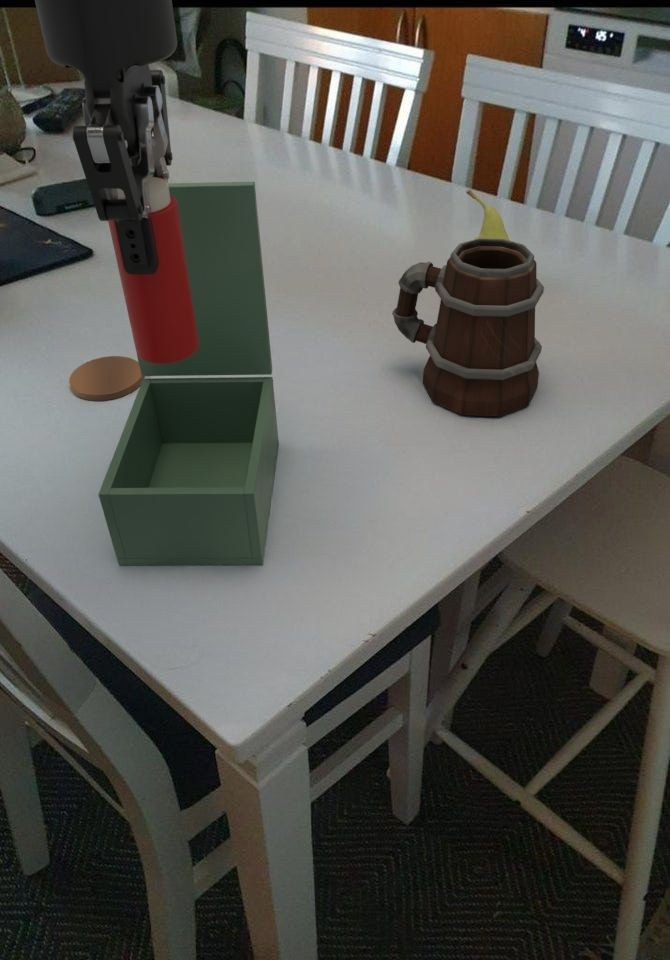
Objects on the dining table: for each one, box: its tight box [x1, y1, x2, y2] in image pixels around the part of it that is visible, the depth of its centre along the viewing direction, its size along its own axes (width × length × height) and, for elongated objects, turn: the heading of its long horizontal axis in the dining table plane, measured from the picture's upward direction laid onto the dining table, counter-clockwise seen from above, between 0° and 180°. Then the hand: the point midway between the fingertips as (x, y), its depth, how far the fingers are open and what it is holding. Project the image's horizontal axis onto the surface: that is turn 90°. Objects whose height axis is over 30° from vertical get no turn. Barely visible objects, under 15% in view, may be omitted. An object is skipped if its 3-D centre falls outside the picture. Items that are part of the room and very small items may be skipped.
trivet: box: [68, 355, 145, 402], centre depth 89 cm, size 8×8×1 cm
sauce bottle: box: [108, 177, 199, 364], centre depth 56 cm, size 5×5×12 cm
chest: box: [97, 376, 280, 566], centre depth 71 cm, size 17×12×8 cm
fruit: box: [465, 188, 511, 241], centre depth 101 cm, size 7×8×12 cm
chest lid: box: [107, 181, 273, 377], centre depth 71 cm, size 17×12×5 cm
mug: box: [392, 238, 545, 417], centre depth 82 cm, size 16×12×15 cm
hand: (150, 254), depth 55 cm, fingers closed on sauce bottle, 4 cm apart
